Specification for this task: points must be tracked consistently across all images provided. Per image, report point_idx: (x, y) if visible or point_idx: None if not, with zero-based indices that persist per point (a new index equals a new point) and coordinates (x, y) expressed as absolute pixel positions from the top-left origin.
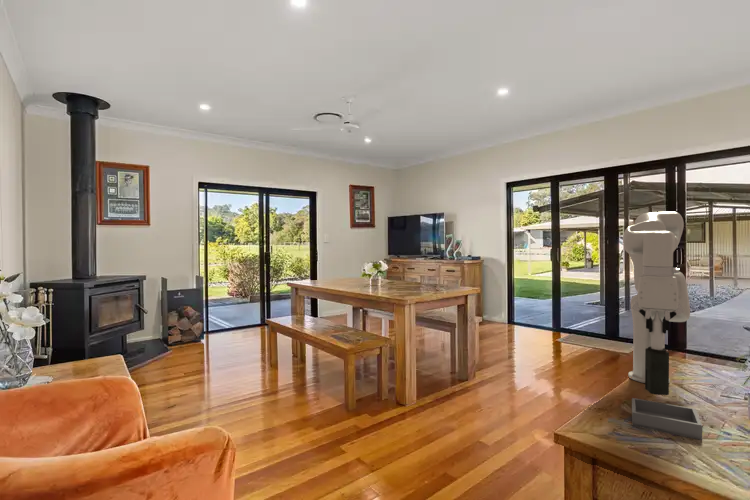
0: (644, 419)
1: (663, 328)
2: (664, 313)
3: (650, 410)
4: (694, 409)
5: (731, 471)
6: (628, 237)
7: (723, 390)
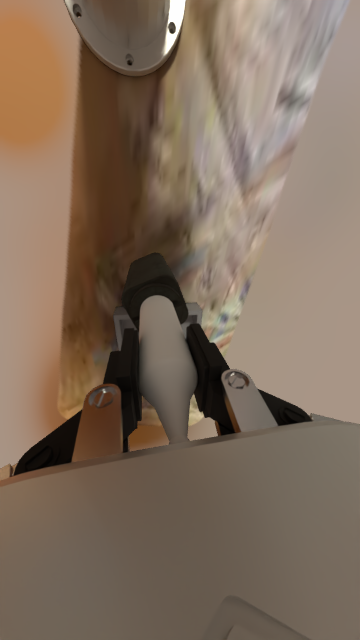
0: None
1: None
2: (230, 416)
3: None
4: (200, 314)
5: None
6: None
7: (304, 25)
